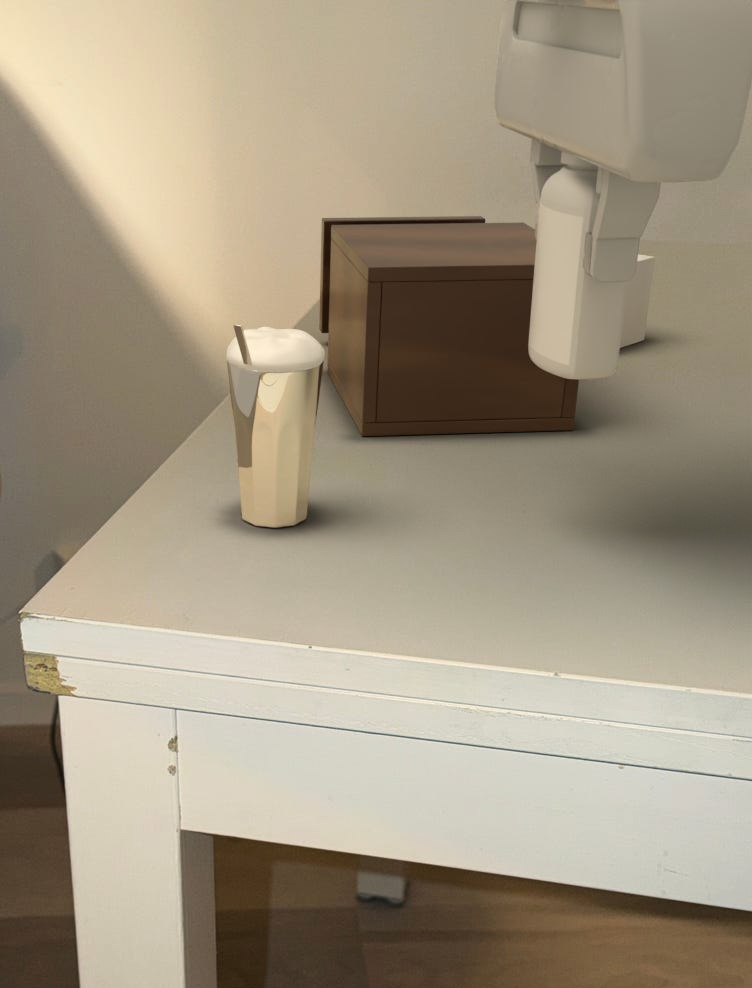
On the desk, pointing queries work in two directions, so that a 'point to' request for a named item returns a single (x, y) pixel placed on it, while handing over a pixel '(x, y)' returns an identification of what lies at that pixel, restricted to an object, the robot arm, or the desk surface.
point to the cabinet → (439, 331)
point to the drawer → (365, 221)
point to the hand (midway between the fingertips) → (581, 262)
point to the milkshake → (274, 420)
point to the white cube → (637, 302)
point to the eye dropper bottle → (572, 282)
